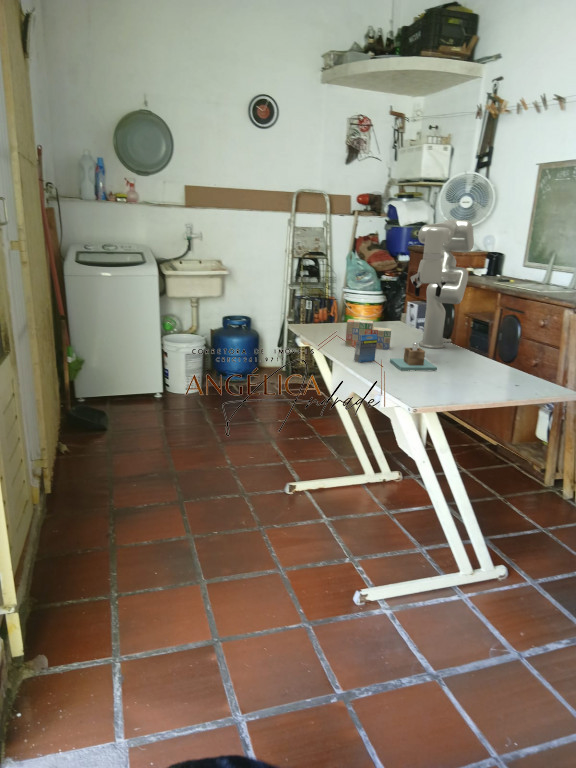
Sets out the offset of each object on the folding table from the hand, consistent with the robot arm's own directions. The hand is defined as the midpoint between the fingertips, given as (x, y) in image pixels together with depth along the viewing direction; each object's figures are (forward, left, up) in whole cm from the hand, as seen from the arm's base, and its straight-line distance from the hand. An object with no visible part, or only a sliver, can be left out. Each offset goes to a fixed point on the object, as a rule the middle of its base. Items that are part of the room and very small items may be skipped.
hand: (427, 296), depth 248 cm
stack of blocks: (+20, -19, -28) cm, 39 cm away
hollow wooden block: (+10, +17, -26) cm, 33 cm away
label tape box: (+29, +8, -28) cm, 41 cm away
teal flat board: (+10, +17, -28) cm, 34 cm away
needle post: (+10, +17, -26) cm, 33 cm away
